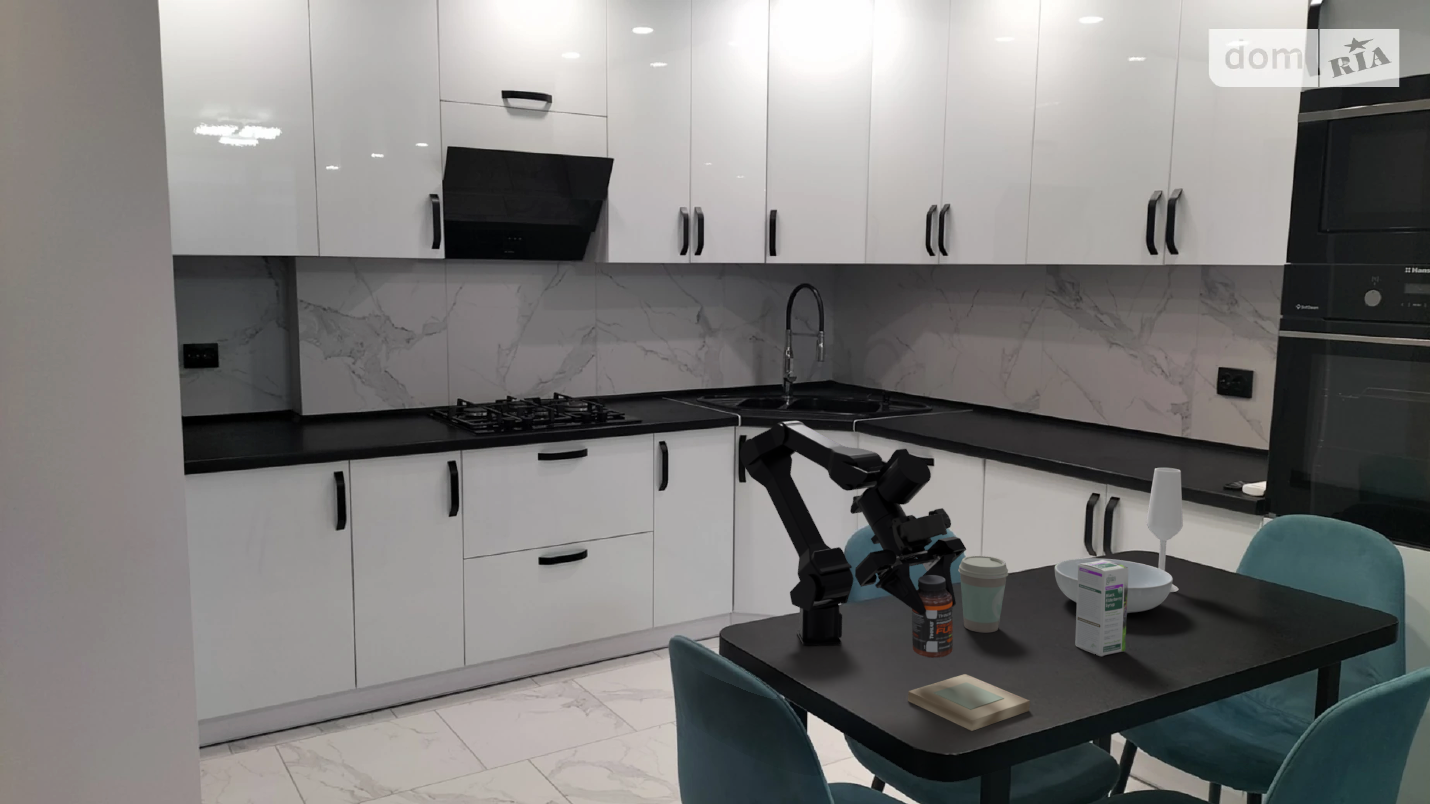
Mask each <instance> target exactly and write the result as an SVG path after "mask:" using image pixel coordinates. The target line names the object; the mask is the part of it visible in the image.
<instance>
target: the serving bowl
mask: <svg viewBox="0 0 1430 804" xmlns="http://www.w3.org/2000/svg"><path fill="white" fill-rule="evenodd" d="M1100 560H1106V561H1111V562H1115V563H1118V564H1121V565H1124V566H1126V567H1128V568H1129V572H1128V596H1127V614H1130V613H1138V612H1145V611H1148V610H1152V609H1154V608H1157V607H1158V606H1160V604H1162V603H1163V602H1164V601H1165V600H1166V599H1167V597H1168V596H1169V594H1170V593H1171V592H1170V590H1171V587H1172V584H1173V580H1174V578H1173V576H1172V575H1171V574H1170V573H1169V572H1167V571H1166V570H1165V571H1163V570H1161V569H1159V567H1156V566H1152V565H1148V564H1144V563H1139V562H1134V561H1129V560H1122V559H1121V560H1120V559H1115V558H1113V559H1111V558H1092V557H1091V558H1090V557H1089V558H1083V557H1082V558H1072V559H1068V560H1067V559H1066V560H1062V561H1060V562H1058V563H1056V565H1055V566H1054V576H1055V580H1056V584H1057V586H1058V587H1059V589H1060V591H1061V592H1062V593H1063V595H1065V596H1066V597H1067V598H1068V599H1070V600H1071V601H1072V602H1074V603H1076V604H1077V582H1078V564H1081V563H1089V562H1095V561H1100Z"/></svg>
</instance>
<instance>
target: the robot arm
mask: <svg viewBox="0 0 1430 804" xmlns="http://www.w3.org/2000/svg"><path fill="white" fill-rule="evenodd" d="M795 453H797V454H799V455H800V456H802V457H804V458H805V459H808V460H809V461H812V462H814V463H815V464H817V465H819V466H820V467H822V468H823V469H824V470H826V471H827V473H828V477H829V478H830V480H832V482H834V483H835V484H836V485H837V486H838V487H840V488H841V489H842V490H843V491H847V492H848V491H849V492H850V491H854V490H855V491H856V490H864V489H865V490H864V491H863V492H862V493H861V494H860V495H854V496H853V497H852V503H851V505H850V513H851V514H859V513H861V514H863V516H864V518H865V520H866V521H867V523H868V526H869V528H870V529H871V530H872V533H873V534H874V535H873V536H872V537H871V538H870V540H871V542H872V544H873V545H878V544H879V545H880V547H881V548H882V549H881V550H875V551H871V552H869V553H868V554H867V555H866V556H865V557H864V558H863V559H862V561H861V562H860V563H858V565H857V566H856V567H855V569H854V570H855V571H854V575H853V572H852V570H851V569H852V568H853V567H852V565H851V564H850V563H849V561H848V559H847V557H846V555H845V553H844V551H843V549H842V548H841V547H839V546H838V547H833V548H832V547H830V546H829V545H827V544H826V543H825V541H824V539H823V537H822V535H821V533H820V530H819V529H818V526H817V525H816V522H815V521H814V519H813V517H812V515H811V513H810V511H809V509H808V507H807V505H806V502H805V501H804V498H803V497H802V494H801V493H800V491H799V489H798V487H797V485H796V482H795V481H794V478H793V477H792V475H791V474H792V464H793V458H792V455H794V454H795ZM739 457H740V460H741V463H742V465H743V467H744V469H745V470H746V472H747V473H748V474H749V477H751V479H753V480H755V482H757V483H758V484H760V485H761V486H762V487H764V488H765V489H766V492H767V494H768V496H769V498H770V499H771V503H772V504H773V505H774V507H775V510H776V511H777V514H778V516H779V518H780V520H781V522H782V524H783V526H784V528H785V531H786V533H787V535H788V537H789V539H790V541H791V542H792V545H793V547H794V549H795V551H796V554H797V555H798V565H797V576H798V581H799V582H798V583H796V585H795V586H794V587H793V588H792V589H791V590H790V591H789V597H790V601H791V605H793V606H795V607H796V608H797V607H798V608H799V617H798V618H799V620H798V621H799V623H798V624H799V626H798V627H799V628H798V629H797V630H796V634H797V636H798V637H799V640H800V641H801V644H802V645H803V646H823V645H824V646H825V645H826V646H828V645H841V644H842V640H841V638H842V636H843V635H842V634H843V613H842V612H841V611H840V605H841V604H847V603H848V601H849V597H850V594H851V591H852V587H853V584H854V576H855V579H856V580H857V583H858V584H859V586H860V588H861V587H866V586H870V585H875V587H876V589H882V590H883V591H885V592H887V593H888V594H890V595H891V596H893V597H895V598H896V599H898V600H899V601H901V602H902V603H904V605H906V606H907V607H908V608H910V609H911V610H912V609H913V610H914V611H916V612H917V613H919V614H920V615H923V614H924V613H925V612H926V609H925V606H924V604H923V602H922V600H921V598H920V596H919V594H918V592H917V590H918V589H917V588H916V586H915V584H914V583H913V581H912V579H911V574H910V573H911V572H910V567H915V566H919V565H923V567H924V569H925V570H926V572H925V573H923V574H922V576H926V575H936V576H941V577H943V578H944V579H945V581H946V588H945V589H946V590H947V591H948V592H949V593H950V594H951V596H952V608H954V607H955V606H956V603H957V602H956V597H955V591H954V586H953V581H952V574H951V566H952V563H954V561H956V560H957V559H958V558H959V557H961V555H963V553H965V551H966V550H967V548H966V546H965V544H964V542H963V541H962V539H961V538H960V537H957V536H949V537H944V538H939V539H937V540H936V541H935V542H934V543H933V544H932V545H931V546H930V547H929V548H928V549H926V548H925V547H926V546H929V545H930V544H931V543H932V542H933V540H932V538H935V537H937V536H941V535H942V536H945V535H948V531H947V529H950V528H951V526H952V521H951V518H950V516H949V514H948V513H947V512H946V510H945V509H944V507H942V508H935V509H934V510H931V511H930V510H929V512H928V513H927V515H924V516H919V517H916V516H915V515H913V514H910V515H907V514H906V512H905V511H904V509H903V507H902V506H901V505H904V506H905V505H907V504H909V503H910V502H911V500H912V499H913V498H915V496H916V495H917V494H918V493H919V492H920V491H921V490H922V489H923V488H924V487H925V486H926V485H927V484H928V483H929V482H930V480H931V478H932V472H931V470H930V468H929V466H928V464H927V463H925V462H924V461H923V460H922V459H920V457H918V456H916V455H913V454H911V453H909V451H908V449H907V448H899V449H895V450H894V451H893V452H892V454H891V455H890V457H889V459H888V460H887V461H886V460H883V458H882V457H881V455H880V454H878V452H875V451H872V450H867V449H864V448H859V447H848V446H845V445H843V444H841V443H839V442H836V441H835V440H833V439H831V438H829V437H828V436H825V435H823V434H821V433H819V432H817V431H815V430H814V429H812V428H810V427H808V426H807V425H805V424H804V423H803V422H802V421H799V420H789V421H788V420H787V421H780V422H778V423H776V424H774V425H773V426H771V428H769V429H767V430H765V431H763V432H761V433H759V434H757V435H755V436H754V437H752V438H747V439H746V440H745V441H744V442H743V444H742V447H741V448H740V450H739ZM877 579H878V582H877ZM875 583H876V584H875Z"/></svg>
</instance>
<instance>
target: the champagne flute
mask: <svg viewBox="0 0 1430 804" xmlns="http://www.w3.org/2000/svg"><path fill="white" fill-rule="evenodd" d="M1152 477H1153V478H1152V484H1151V491H1150V497H1149V502H1148V509H1147V515H1146V521H1145V523H1146V526H1147V529H1149V531H1150V532H1151V533H1152V534H1153V536H1155V538H1157V539H1158V540H1159V555H1158V568H1159V569H1161V570H1163V571H1165V572H1166V557H1167V555H1166V554H1167V553H1166V552H1167V541H1168V540H1171V539H1172V538H1174V537H1175V536H1176V535H1178V534H1179V533H1180V531H1181V530H1182V528H1183V526H1184V523H1183V522H1184V521H1183V520H1184V519H1183V498H1182V497H1183V496H1182V495H1183V494H1182V471H1181V470H1180V469H1177V468H1172V467H1157V468H1156V467H1155V468H1154V472H1153V476H1152ZM1177 591H1179V588H1178V586H1176V585H1174V584H1173V583H1172V587H1171V590H1170V592H1169V593H1174V592H1177Z"/></svg>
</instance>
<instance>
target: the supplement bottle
mask: <svg viewBox="0 0 1430 804" xmlns="http://www.w3.org/2000/svg"><path fill="white" fill-rule="evenodd" d="M917 588H918V589H916V590H917V592H918V594H919V596H920V598H921V600H922V602H923V604H924V606H925V609H926V612H925V613H924V614H923V615H920V614H919V613H917V612H916V611H914V610H913V609H912V608H911V619H912V620H911V624H912V625H911V628H912V629H911V630H912V634H911V636H912V650H913V652H914V653H916V654H917V655H919V656H921V657H925V658H932V659H937V658H944V657H947V656H949V655H950V654H951V653H952V652H953V649H954V648H953V645H954V639H953V638H954V635H953V634H954V633H953V632H954V631H953V627H954V626H953V623H954V622H953V608H954V607H952V596H951V594H950V593H949V592H948V591H947V590H946V589H945V588H946V581H945V579H944V578H943V577H941V576H936V575H926V576H923V575H922V576H919V577H918V579H917Z"/></svg>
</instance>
